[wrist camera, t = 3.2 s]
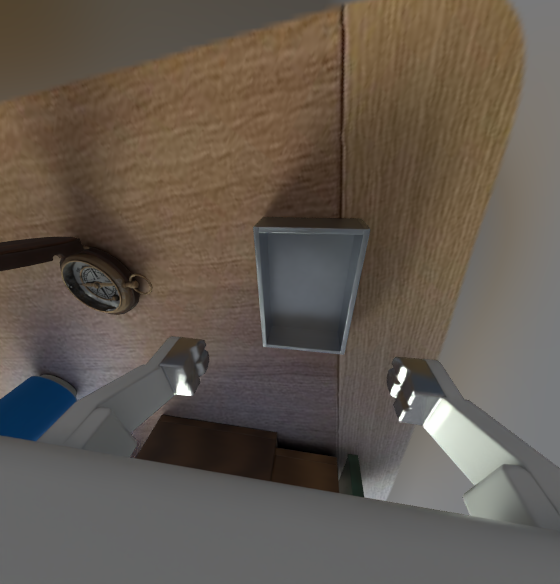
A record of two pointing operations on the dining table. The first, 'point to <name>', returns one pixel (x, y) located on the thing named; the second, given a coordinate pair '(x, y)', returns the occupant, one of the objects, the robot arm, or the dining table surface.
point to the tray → (308, 280)
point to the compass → (79, 271)
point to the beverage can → (35, 406)
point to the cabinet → (211, 447)
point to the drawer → (317, 472)
